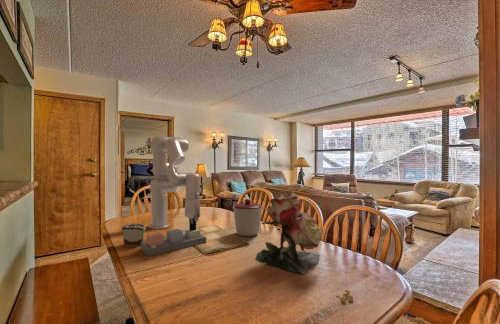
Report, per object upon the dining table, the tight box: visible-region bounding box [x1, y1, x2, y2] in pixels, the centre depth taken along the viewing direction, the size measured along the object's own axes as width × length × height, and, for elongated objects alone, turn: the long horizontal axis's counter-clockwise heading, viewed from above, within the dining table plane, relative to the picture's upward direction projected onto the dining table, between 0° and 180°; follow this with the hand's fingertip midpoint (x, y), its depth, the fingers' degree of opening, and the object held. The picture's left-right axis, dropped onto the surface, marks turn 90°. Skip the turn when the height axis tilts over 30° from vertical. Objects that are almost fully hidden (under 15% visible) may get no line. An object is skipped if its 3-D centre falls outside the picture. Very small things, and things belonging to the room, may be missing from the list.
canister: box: [232, 198, 264, 237], centre depth 145 cm, size 18×18×21 cm
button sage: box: [184, 228, 201, 239], centre depth 131 cm, size 6×6×5 cm
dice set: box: [335, 289, 354, 304], centre depth 78 cm, size 5×5×2 cm
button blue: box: [166, 228, 184, 243], centre depth 125 cm, size 6×6×5 cm
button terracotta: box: [146, 232, 164, 248], centre depth 118 cm, size 6×6×5 cm
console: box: [140, 233, 207, 257], centre depth 125 cm, size 12×30×4 cm, turn 129°
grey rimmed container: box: [121, 223, 146, 247], centre depth 127 cm, size 12×6×10 cm, turn 84°
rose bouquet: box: [255, 191, 324, 275], centre depth 109 cm, size 26×29×30 cm
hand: (192, 230), depth 131 cm, fingers closed
